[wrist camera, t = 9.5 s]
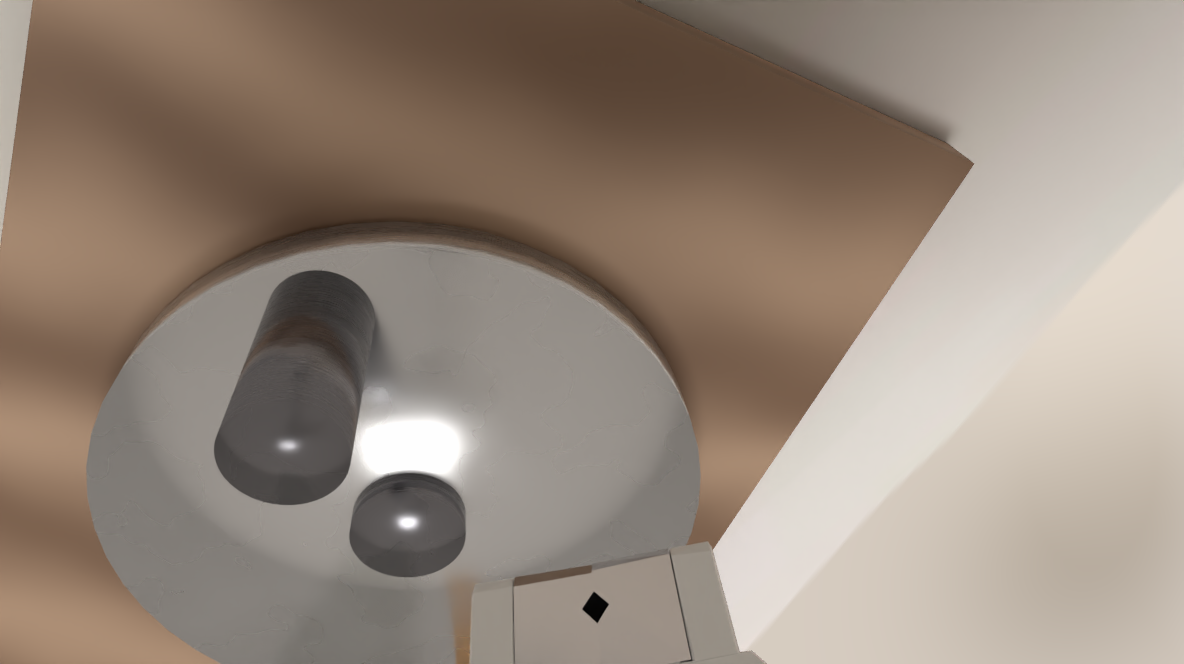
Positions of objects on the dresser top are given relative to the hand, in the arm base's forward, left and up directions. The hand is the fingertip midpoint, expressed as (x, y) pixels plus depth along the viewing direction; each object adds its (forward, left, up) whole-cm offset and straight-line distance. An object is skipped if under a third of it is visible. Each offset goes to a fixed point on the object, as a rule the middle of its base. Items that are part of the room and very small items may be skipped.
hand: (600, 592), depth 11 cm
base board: (+9, -1, -14) cm, 16 cm away
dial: (+10, +1, -12) cm, 16 cm away
